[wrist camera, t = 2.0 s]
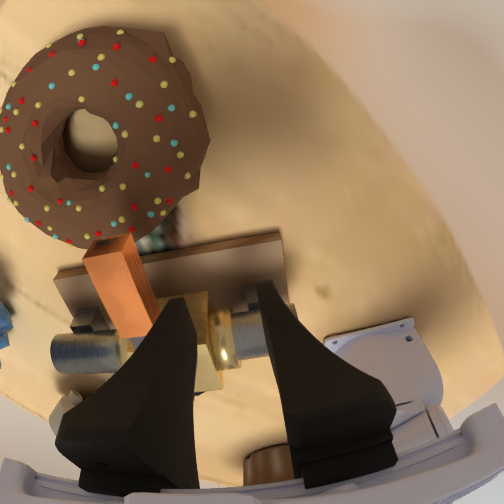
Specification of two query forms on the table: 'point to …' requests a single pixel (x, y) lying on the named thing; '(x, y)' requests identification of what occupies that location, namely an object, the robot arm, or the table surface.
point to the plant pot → (268, 466)
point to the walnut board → (194, 274)
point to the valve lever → (123, 286)
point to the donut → (123, 124)
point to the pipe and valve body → (206, 325)
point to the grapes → (4, 326)
